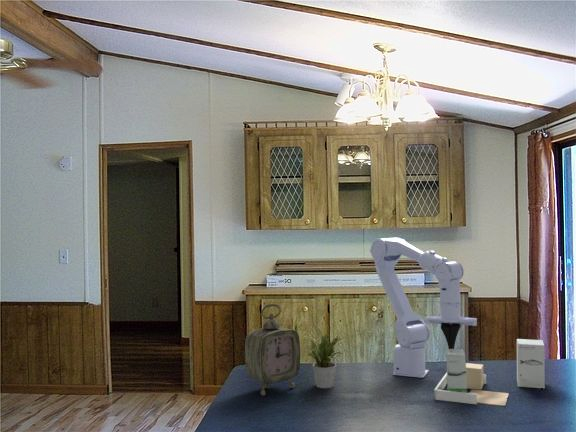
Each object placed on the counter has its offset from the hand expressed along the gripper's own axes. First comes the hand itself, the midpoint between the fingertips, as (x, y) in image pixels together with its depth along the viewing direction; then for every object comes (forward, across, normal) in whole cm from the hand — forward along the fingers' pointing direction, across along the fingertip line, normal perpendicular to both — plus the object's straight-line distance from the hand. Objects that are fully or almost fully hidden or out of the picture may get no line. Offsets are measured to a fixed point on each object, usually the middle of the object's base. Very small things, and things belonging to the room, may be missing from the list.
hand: (451, 349), depth 178 cm
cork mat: (+11, +11, -9) cm, 18 cm away
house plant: (+10, -34, -14) cm, 38 cm away
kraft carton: (+11, +6, 0) cm, 12 cm away
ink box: (+11, +3, -9) cm, 14 cm away
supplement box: (+11, +21, +8) cm, 25 cm away
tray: (+10, +3, -6) cm, 12 cm away
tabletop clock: (+10, -48, -23) cm, 54 cm away
